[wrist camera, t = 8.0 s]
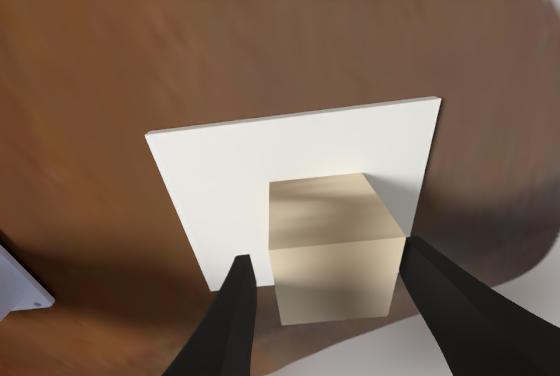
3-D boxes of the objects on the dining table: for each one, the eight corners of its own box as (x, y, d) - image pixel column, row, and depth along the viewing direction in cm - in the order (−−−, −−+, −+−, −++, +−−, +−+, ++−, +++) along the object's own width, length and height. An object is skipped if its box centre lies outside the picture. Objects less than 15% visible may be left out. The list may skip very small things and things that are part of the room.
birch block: (278, 247, 16) (281, 325, 11) (269, 182, 13) (268, 250, 9) (355, 240, 15) (387, 315, 11) (361, 172, 13) (406, 236, 9)
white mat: (212, 284, 18) (210, 291, 18) (149, 131, 12) (144, 134, 11) (398, 265, 18) (401, 271, 17) (433, 96, 12) (441, 98, 11)
